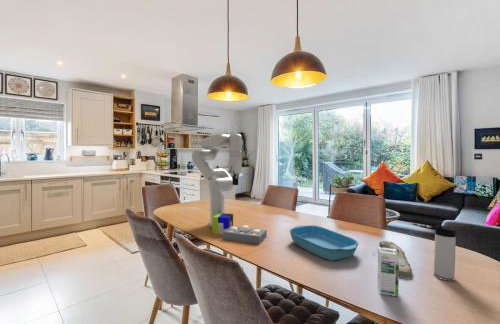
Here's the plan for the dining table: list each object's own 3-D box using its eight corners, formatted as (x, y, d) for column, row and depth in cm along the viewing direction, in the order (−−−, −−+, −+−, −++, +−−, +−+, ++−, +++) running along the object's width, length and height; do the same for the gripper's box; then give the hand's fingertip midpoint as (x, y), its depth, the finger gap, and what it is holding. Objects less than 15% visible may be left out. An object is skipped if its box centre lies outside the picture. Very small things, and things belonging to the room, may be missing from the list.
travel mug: (429, 273, 98) (430, 224, 98) (444, 272, 99) (445, 223, 98) (442, 281, 92) (444, 228, 91) (458, 280, 93) (460, 228, 92)
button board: (231, 232, 149) (231, 225, 149) (266, 236, 141) (266, 229, 141) (222, 238, 138) (222, 231, 138) (259, 244, 130) (259, 236, 130)
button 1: (231, 232, 145) (231, 226, 145) (238, 233, 143) (238, 227, 143) (228, 234, 141) (228, 228, 141) (235, 235, 139) (235, 229, 139)
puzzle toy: (228, 234, 145) (228, 217, 145) (212, 233, 147) (212, 217, 147) (233, 229, 155) (233, 213, 155) (218, 228, 157) (218, 213, 157)
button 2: (254, 234, 140) (254, 228, 140) (261, 235, 138) (261, 229, 138) (251, 237, 136) (251, 231, 136) (258, 238, 134) (258, 232, 134)
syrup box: (379, 294, 84) (380, 252, 83) (377, 285, 89) (377, 246, 89) (398, 297, 82) (399, 254, 81) (395, 288, 87) (395, 248, 87)
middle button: (242, 231, 142) (242, 225, 142) (249, 231, 141) (249, 225, 141) (239, 233, 138) (239, 227, 138) (247, 234, 137) (247, 228, 137)
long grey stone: (388, 279, 97) (417, 285, 93) (389, 266, 96) (419, 272, 93) (375, 243, 129) (397, 247, 126) (376, 234, 129) (398, 237, 126)
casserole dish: (368, 257, 114) (368, 242, 114) (334, 268, 103) (334, 251, 103) (312, 234, 146) (312, 222, 146) (281, 241, 135) (281, 228, 135)
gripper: (235, 154, 156) (235, 183, 157) (224, 154, 142) (224, 186, 143) (245, 154, 153) (245, 183, 154) (235, 154, 139) (235, 186, 140)
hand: (235, 184), depth 148 cm, fingers closed
